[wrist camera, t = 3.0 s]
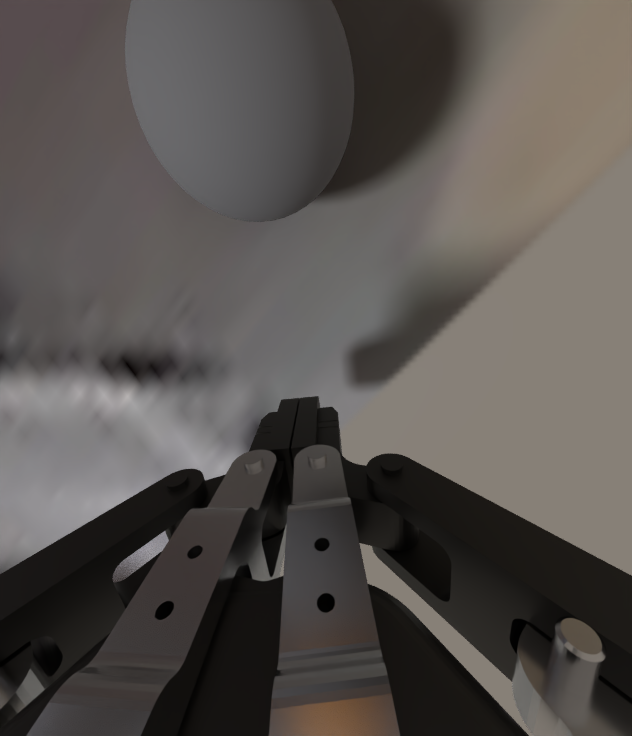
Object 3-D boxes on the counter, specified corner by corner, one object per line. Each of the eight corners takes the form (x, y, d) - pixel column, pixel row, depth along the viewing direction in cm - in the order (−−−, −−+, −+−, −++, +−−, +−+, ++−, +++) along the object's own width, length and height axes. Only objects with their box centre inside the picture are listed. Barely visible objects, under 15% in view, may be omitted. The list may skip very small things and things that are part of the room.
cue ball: (153, 111, 11) (-13, -28, 6) (288, -9, 10) (245, -336, 5) (249, 257, 13) (193, 261, 7) (375, 170, 12) (421, 95, 6)
